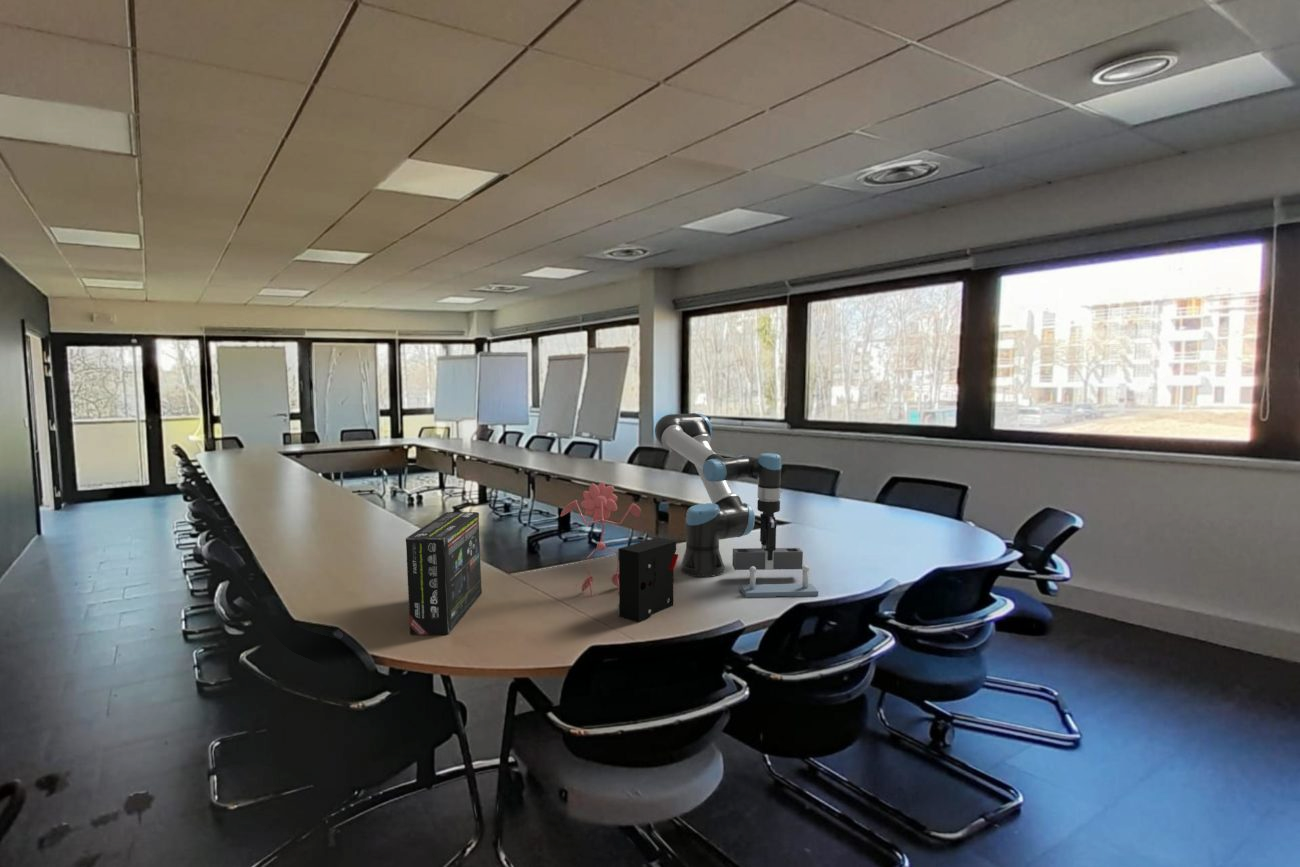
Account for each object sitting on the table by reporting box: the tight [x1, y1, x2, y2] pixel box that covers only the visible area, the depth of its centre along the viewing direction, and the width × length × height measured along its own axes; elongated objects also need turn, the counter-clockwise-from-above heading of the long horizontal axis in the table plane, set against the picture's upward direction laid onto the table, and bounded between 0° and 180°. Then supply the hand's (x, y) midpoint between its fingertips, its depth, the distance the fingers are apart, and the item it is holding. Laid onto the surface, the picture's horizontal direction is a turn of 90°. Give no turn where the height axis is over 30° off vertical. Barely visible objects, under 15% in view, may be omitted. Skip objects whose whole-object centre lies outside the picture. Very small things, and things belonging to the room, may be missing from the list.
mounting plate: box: [740, 564, 819, 598], centre depth 214 cm, size 23×8×9 cm, turn 93°
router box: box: [405, 511, 483, 636], centre depth 196 cm, size 36×11×27 cm, turn 0°
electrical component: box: [615, 536, 679, 623], centre depth 198 cm, size 18×10×20 cm, turn 141°
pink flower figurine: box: [560, 482, 642, 597], centre depth 218 cm, size 15×26×35 cm, turn 110°
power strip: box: [732, 547, 804, 571], centre depth 230 cm, size 23×5×6 cm, turn 93°
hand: (767, 566), depth 230 cm, fingers closed on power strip, 5 cm apart
